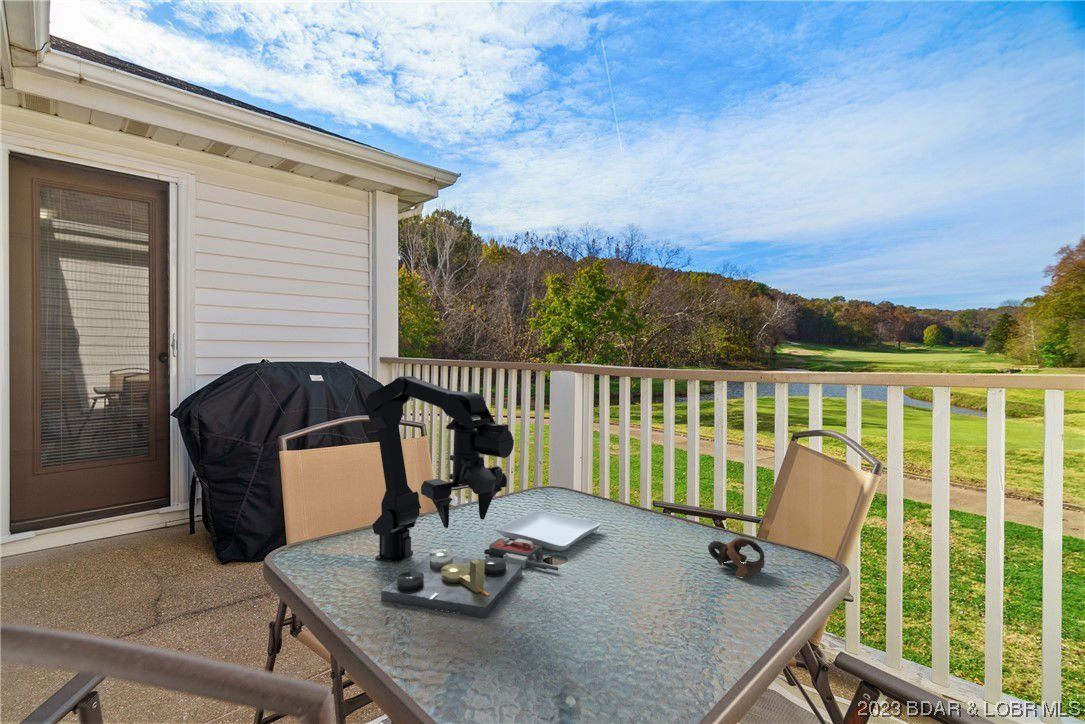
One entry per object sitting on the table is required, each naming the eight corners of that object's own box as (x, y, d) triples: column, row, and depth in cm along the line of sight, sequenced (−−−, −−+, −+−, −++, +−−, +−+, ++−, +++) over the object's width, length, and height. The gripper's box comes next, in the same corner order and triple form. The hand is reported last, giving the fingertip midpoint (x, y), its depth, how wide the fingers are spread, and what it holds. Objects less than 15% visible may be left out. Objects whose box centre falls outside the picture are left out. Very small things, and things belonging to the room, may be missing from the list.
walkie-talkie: (478, 560, 122) (556, 577, 113) (478, 542, 122) (556, 557, 113) (497, 548, 130) (571, 563, 121) (497, 530, 130) (571, 544, 121)
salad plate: (602, 533, 141) (603, 521, 141) (564, 559, 123) (564, 545, 123) (537, 520, 152) (537, 508, 152) (493, 541, 134) (493, 528, 134)
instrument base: (379, 601, 100) (379, 576, 100) (432, 561, 120) (432, 540, 120) (484, 619, 94) (484, 592, 94) (521, 574, 113) (522, 551, 113)
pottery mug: (756, 565, 121) (768, 541, 117) (756, 598, 113) (768, 574, 109) (704, 546, 124) (714, 523, 120) (700, 578, 117) (710, 553, 112)
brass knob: (435, 575, 107) (435, 548, 107) (460, 567, 111) (461, 541, 111) (466, 596, 98) (466, 566, 98) (492, 587, 102) (492, 559, 102)
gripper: (448, 464, 100) (446, 544, 100) (523, 453, 112) (521, 525, 112) (420, 453, 108) (418, 528, 108) (493, 445, 120) (491, 511, 121)
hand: (464, 523), depth 112 cm, fingers open, 9 cm apart
